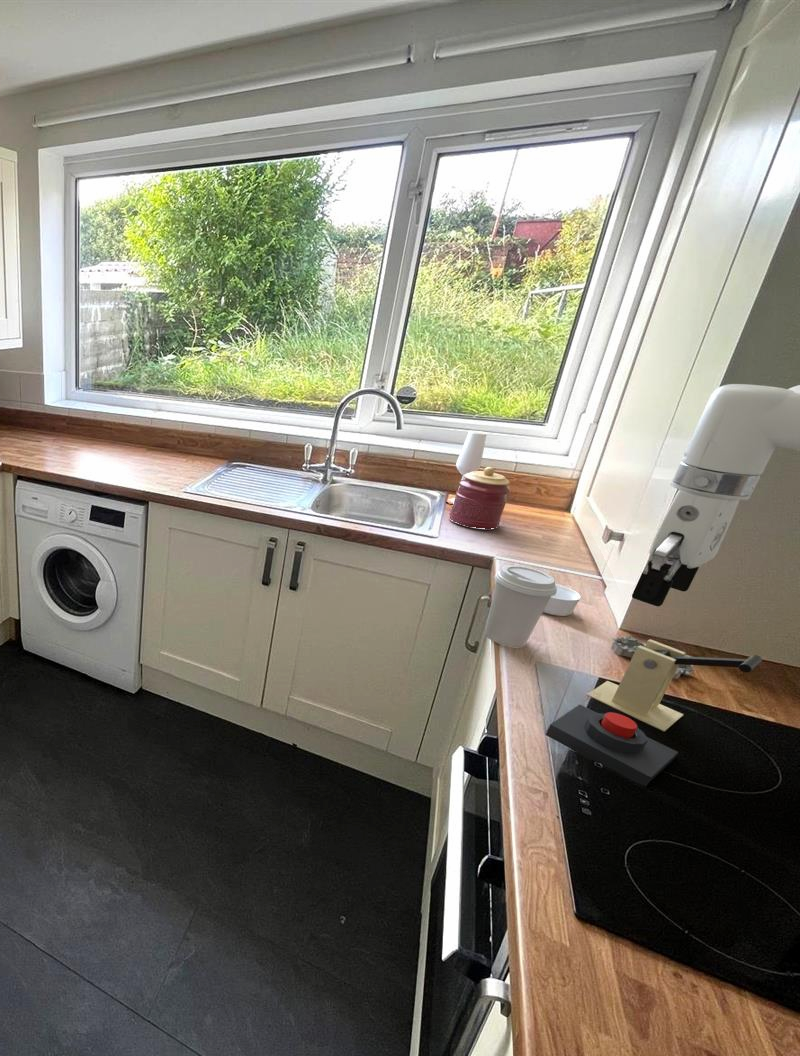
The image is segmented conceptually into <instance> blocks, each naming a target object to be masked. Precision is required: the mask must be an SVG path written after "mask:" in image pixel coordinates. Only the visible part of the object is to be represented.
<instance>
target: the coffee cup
mask: <svg viewBox="0 0 800 1056" xmlns="http://www.w3.org/2000/svg"><path fill="white" fill-rule="evenodd" d="M493 577H494V580H495V585H494V590H493V593H492V599H491V601H490V605H489V606H490V607H489V611H488V615H487V616H488V617H487V619H486V624H485V628H484V631H483V636H485V637H486V638H487V639H489V641H492V642H493V643H496V644H499V645H501V646H505V647H508V648H513V649H514V648H515V649H516V648H517V649H519V648H524V647H525V646H526V644H527V642H528V640H529V639H530V637H531V635H532V634H533V631H534V629H535V627H536V626H537V623H538V622H539V620H540V618H541V616H542V614H543V611H544V609H545V607H546V605H547V603H548V601H549V599H550V598H551V596H553V595H555V594H556V593H557V588H556V585H555V584H556V579H555V578H554V577H553V576H552V575H551V574H549V573H547V572H545V571H542V570H540V569H538V568H533V567H529V566H524V565H520V564H519V565H517V564H509V565H505V566H503V567H502V569H500V570H498V571H497V572H496V573H495V575H494V576H493Z"/></svg>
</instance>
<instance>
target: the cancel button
mask: <svg viewBox="0 0 800 1056" xmlns="http://www.w3.org/2000/svg"><path fill="white" fill-rule="evenodd" d="M604 714H605V716H604V718H603V720H602V722H601V726H602V727H603V728H604V729H606V730H607V731H609V732H611V733H613V734H615V735H617V736H621V737H624V738H631V737H633V735H634V733H635V731H636V729H637V728H638V724H637V723H636V721H634V720H632V719H631V718H630V717H628V716H626V715H623V714H621V713H617V712H613V711H612V712H606V713H604Z"/></svg>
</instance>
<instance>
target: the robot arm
mask: <svg viewBox="0 0 800 1056" xmlns="http://www.w3.org/2000/svg"><path fill="white" fill-rule="evenodd" d="M776 448H782V449H787V450H793V451H798V452H800V384H798V385H795V386H792V387H790V388H784V387H778V386H770V385H769V386H768V385H759V384H748V383H746V384H745V383H730V384H729V383H728V384H723V385H721V386H719V387H717V388H715V390H713V392H712V393H711V395H710V397H709V399H708V401H707V403H706V405H705V407H704V410H703V412H702V413H701V416H700V419H699V420H698V423H697V425H696V427H695V430H694V432H693V434H692V435H691V439H690V441H689V443H688V445H687V447H686V450H685V451H684V453H683V456H682V458H681V461H680V463H679V465H678V467H677V469H676V472H675V474H674V476H673V478H672V481H671V483H670V485H671V487H672V488H675V489H678V491H677V492H676V494H675V496H674V498H673V499H672V502H671V503H670V505H669V508H668V509H667V511H666V513H665V515H664V517H663V518H662V521H661V524H660V525H659V527H658V529H657V531H656V533H655V535H654V538H653V541H652V542H651V546H650V549H649V550H648V551H649V552H648V553H649V555H650V557H651V558H650V560H649V561H648V562H647V564H646V566H645V567H644V569H643V571H642V572H641V574H640V577H639V579H638V581H637V583H636V585H635V586H634V587H635V588H634V590H633V591H632V593H631V598H632V599H634V600H637V601H640V602H642V603H646V604H649V605H651V606H654V607H661V606H663V604H664V602H665V601H666V598H667V597H668V595H669V594H668V593H669V592H670V589H674V590H677V591H680V592H683V593H684V592H687V591H688V590H689V588H690V587H691V585H692V582H693V581H694V579H695V576H696V574H697V573H698V570H699V569H700V566H702V565H704V564H706V563H708V562H710V561H711V560H713V559H714V558H715V557H716V556H717V554H718V552H719V550H720V548H721V545H722V543H723V541H724V539H725V536H726V535H727V532H728V530H729V527H730V525H731V523H732V520H733V518H734V516H735V513H736V511H737V508H738V506H739V503H740V501H748V500H749V499H750V498H751V497H752V494H753V492H754V490H755V489H756V487H757V484H758V482H759V480H760V478H761V476H762V475H763V473H764V471H765V469H766V467H767V465H768V463H769V461H770V459H771V457H772V455H773V453H774V452H775V449H776Z"/></svg>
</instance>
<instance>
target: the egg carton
mask: <svg viewBox="0 0 800 1056" xmlns="http://www.w3.org/2000/svg"><path fill="white" fill-rule="evenodd" d="M612 640H613V642H612V645H611V647H610V649H611V650H612V651H614V652H613V653H614V654H615V655H618V656H624V657H628V658H630V659H632V657H633V655H634V653H635V651H636V649H637V647H638V646H643V647H645V645H646V643H647V642H646V643H644V642H642V641H638V639H636V638H635V637H632V636H631V635H629V636H627V635H626V636H621V637H616V638H614V637H613V638H612ZM684 657H693V656H692V655H688V654H687V653H686V654H685V656H684ZM693 667H694V665H679V667H678V669H677V671H676V673H675V675H674V677H673V679H674V680H678V679H679V678H680V677H681V675H684V676H690V675H691V673H692V671H693V669H694V668H693Z"/></svg>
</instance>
